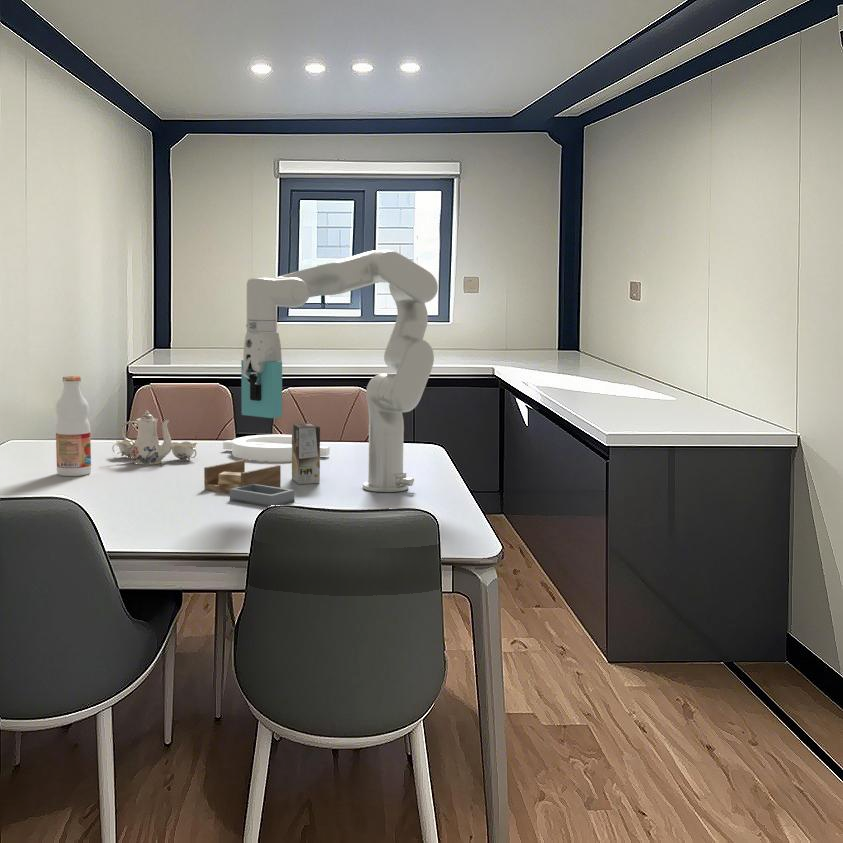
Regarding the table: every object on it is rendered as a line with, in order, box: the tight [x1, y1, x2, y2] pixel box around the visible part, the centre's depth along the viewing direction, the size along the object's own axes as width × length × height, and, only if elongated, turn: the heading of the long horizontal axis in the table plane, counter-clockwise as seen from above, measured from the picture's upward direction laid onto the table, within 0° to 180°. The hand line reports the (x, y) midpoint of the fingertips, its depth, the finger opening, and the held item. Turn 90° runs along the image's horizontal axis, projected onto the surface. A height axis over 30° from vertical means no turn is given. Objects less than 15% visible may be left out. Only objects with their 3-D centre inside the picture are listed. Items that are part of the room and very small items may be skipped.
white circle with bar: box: [222, 434, 331, 463], centre depth 344 cm, size 28×28×5 cm
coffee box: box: [291, 422, 321, 485], centre depth 300 cm, size 9×6×16 cm
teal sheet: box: [240, 359, 283, 419], centre depth 269 cm, size 10×4×14 cm, turn 58°
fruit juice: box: [55, 375, 92, 477], centre depth 303 cm, size 9×9×28 cm
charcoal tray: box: [229, 484, 296, 508], centre depth 273 cm, size 14×9×3 cm, turn 58°
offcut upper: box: [219, 472, 241, 485], centre depth 285 cm, size 7×4×2 cm, turn 78°
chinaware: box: [112, 410, 198, 466], centre depth 328 cm, size 28×17×17 cm, turn 86°
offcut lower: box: [218, 482, 241, 488], centre depth 285 cm, size 7×4×2 cm, turn 60°
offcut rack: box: [203, 459, 282, 495], centre depth 288 cm, size 14×15×6 cm
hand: (261, 398), depth 269 cm, fingers closed on teal sheet, 4 cm apart
